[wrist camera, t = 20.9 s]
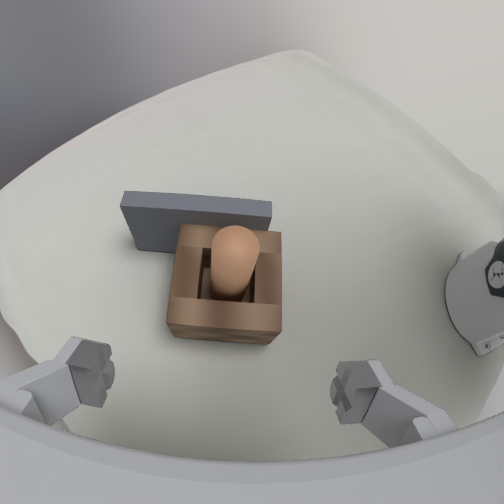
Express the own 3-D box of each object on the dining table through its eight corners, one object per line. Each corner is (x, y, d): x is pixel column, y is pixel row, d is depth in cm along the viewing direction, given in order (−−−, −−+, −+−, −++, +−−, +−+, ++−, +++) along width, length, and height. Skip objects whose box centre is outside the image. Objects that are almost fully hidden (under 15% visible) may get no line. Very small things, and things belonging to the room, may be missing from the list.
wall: (259, 246, 41) (271, 201, 32) (258, 259, 40) (271, 217, 31) (141, 236, 39) (124, 190, 31) (138, 249, 38) (119, 205, 30)
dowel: (245, 276, 36) (260, 228, 26) (243, 309, 34) (259, 270, 24) (211, 273, 36) (214, 223, 26) (208, 306, 34) (209, 265, 24)
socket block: (270, 259, 40) (281, 232, 34) (269, 343, 35) (281, 331, 28) (185, 252, 39) (180, 223, 33) (175, 336, 34) (166, 322, 28)
